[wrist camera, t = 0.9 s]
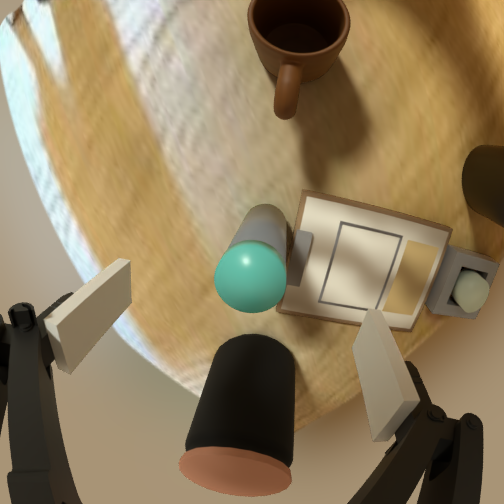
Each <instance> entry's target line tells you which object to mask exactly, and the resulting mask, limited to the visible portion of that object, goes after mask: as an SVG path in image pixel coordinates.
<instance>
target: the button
mask: <svg viewBox="0 0 504 504" xmlns="http://www.w3.org/2000/svg"><path fill="white" fill-rule="evenodd" d="M451 295H452V297H453V298H454V299H455V301H456V302H457V303H458V304H459V305H460V306H461V308H462V309H463V310H464V311H465V312H467V313H472V312H475V311H477V310H478V309H480V308H481V307H482V306H483V305H484V303H485V302H486V300H487V297H488V295H489V284H488V283H487V281H486V280H485V279H483V278H482V277H481V276H480V275H479V274H478V273H477V272H475V271H474V270H473V269H470V268H468V269H464V270H462V271H461V272H460V273H459V275H458V278H457V280H456V283H455V285H454V287H453V290H452V292H451Z"/></svg>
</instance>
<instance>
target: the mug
mask: <svg viewBox="0 0 504 504" xmlns="http://www.w3.org/2000/svg"><path fill="white" fill-rule="evenodd" d="M247 16H248V25H249V31H250V35H251V37H252V40H253V43H254V46H255V48H256V51H257V53H258V56H259V58H260V60H261V62H262V64H263V65H264V67H265V68H266V69H267V70H268V71H269V72H270V73H271V74H273V75H274V76H276V77H278V79H277V84H276V90H275V97H274V113H275V115H276V116H277V117H278V118H280V119H283V120H288V119H290V118H292V117H293V116H294V115H295V112H296V108H297V102H298V96H299V90H300V84H301V83H303V82H309V81H313V80H315V79H317V78H319V77H321V76H322V75H324V74H325V73H326V72H327V71H328V70H329V69H330V67H331V66H332V64H333V63H334V61H335V60H336V58H337V56H338V55H339V53H340V51H341V50H342V48H343V46H344V44H345V42H346V40H347V37H348V33H349V30H350V15H349V12H348V9H347V7H346V5H345V4H344V2H343V1H342V0H252V1H251V3H250V5H249V8H248V14H247Z"/></svg>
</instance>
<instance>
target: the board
mask: <svg viewBox="0 0 504 504" xmlns="http://www.w3.org/2000/svg"><path fill="white" fill-rule="evenodd" d="M452 230H453V229H452V228H450V227H447V226H444V225H441V224H438V223H435V222H431V221H428V220H425V219H421V218H418V217H414V216H411V215H407V214H404V213H400V212H396V211H393V210H389V209H385V208H381V207H378V206H374V205H370V204H366V203H362V202H358V201H353V200H349V199H345V198H341V197H336V196H332V195H328V194H323V193H319V192H314V191H309V190H304V189H303V190H302V194H301V199H300V204H299V209H298V214H297V218H296V223H295V228H294V232H293V237H292V242H291V246H290V251H289V255H288V259H287V264H286V289H285V292H284V295H283V297H282V298H281V300H280V301H279V302H278V303H277V306H276V311H277V312H282V313H288V314H293V315H299V316H305V317H311V318H317V319H323V320H329V321H335V322H341V323H348V324H355V325H362V323H363V320H364V318H365V315H366V313H367V310H368V308H371V309H377V310H381V312H382V314H383V316H384V318H385V320H386V322H387V324H388V326H389V329H391V330H399V331H407V332H412V330H413V328H414V326H415V324H416V322H417V320H418V318H419V315H420V313H421V311H422V309H423V307H424V304H425V302H426V300H427V298H428V295H429V293H430V291H431V288H432V286H433V283H434V281H435V278H436V276H437V273H438V271H439V268H440V265H441V263H442V260H443V257H444V254H445V251H446V248H447V245H448V242H449V239H450V236H451V233H452Z"/></svg>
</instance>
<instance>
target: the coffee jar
mask: <svg viewBox="0 0 504 504" xmlns="http://www.w3.org/2000/svg"><path fill="white" fill-rule="evenodd" d="M294 412H295V364H294V359H293V357H292V356H291V354H290V352H289V351H288V349H287V348H285V347H284V346H283V345H282V344H281V343H279V342H278V341H277V340H275V339H272V338H270V337H268V336H265V335H259V334H244V335H240V336H237V337H234V338H232V339H229V340H228V341H227V342H225V343H224V344H223V345H221V346H220V347H219V349H218V350H217V352H216V354H215V356H214V359H213V362H212V365H211V368H210V371H209V374H208V377H207V380H206V383H205V386H204V388H203V391H202V394H201V397H200V400H199V403H198V406H197V409H196V412H195V415H194V418H193V421H192V424H191V427H190V430H189V433H188V436H187V439H186V443H185V447H186V452H185V453H184V455H183V456H182V457H181V459H180V461H179V468H180V471H181V472H182V473H183V475H184V476H185V477H187V478H188V479H189V480H191V481H192V482H194V483H196V484H198V485H200V486H202V487H205V488H207V489H210V490H213V491H216V492H219V493H223V494H229V495H235V496H248V497H255V496H267V495H271V494H275V493H279V492H281V491H283V490H285V489H287V488H288V486H289V485H290V484H291V482H292V479H291V472H290V469H289V467H290V466H291V464H292V461H293V446H294Z"/></svg>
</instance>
